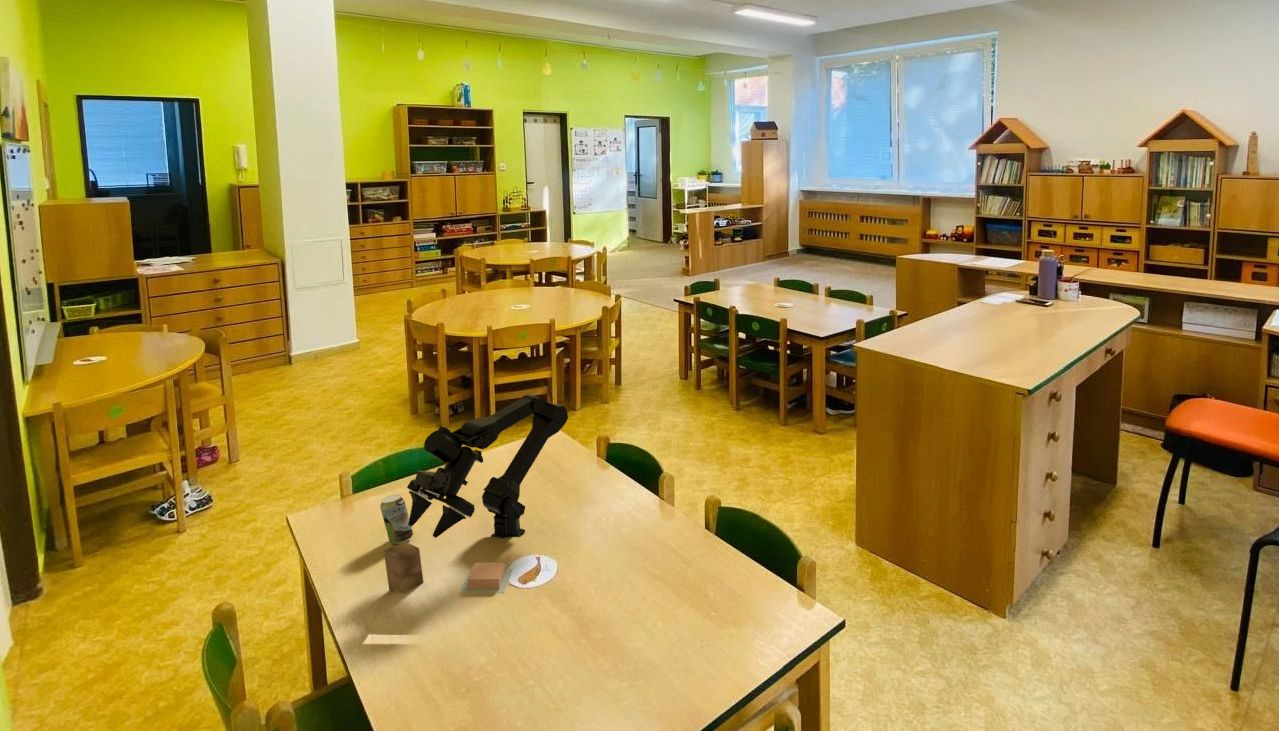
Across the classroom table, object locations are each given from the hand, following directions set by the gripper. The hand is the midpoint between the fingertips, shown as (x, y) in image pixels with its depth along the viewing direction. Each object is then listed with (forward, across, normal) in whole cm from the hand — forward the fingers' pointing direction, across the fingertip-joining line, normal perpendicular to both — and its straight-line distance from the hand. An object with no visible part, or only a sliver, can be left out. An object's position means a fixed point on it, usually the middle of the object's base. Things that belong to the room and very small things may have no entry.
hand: (421, 531), depth 176 cm
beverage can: (+4, -21, +13) cm, 25 cm away
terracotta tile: (+3, +14, +12) cm, 19 cm away
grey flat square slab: (+5, +14, +14) cm, 20 cm away
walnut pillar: (+13, 0, +5) cm, 13 cm away
